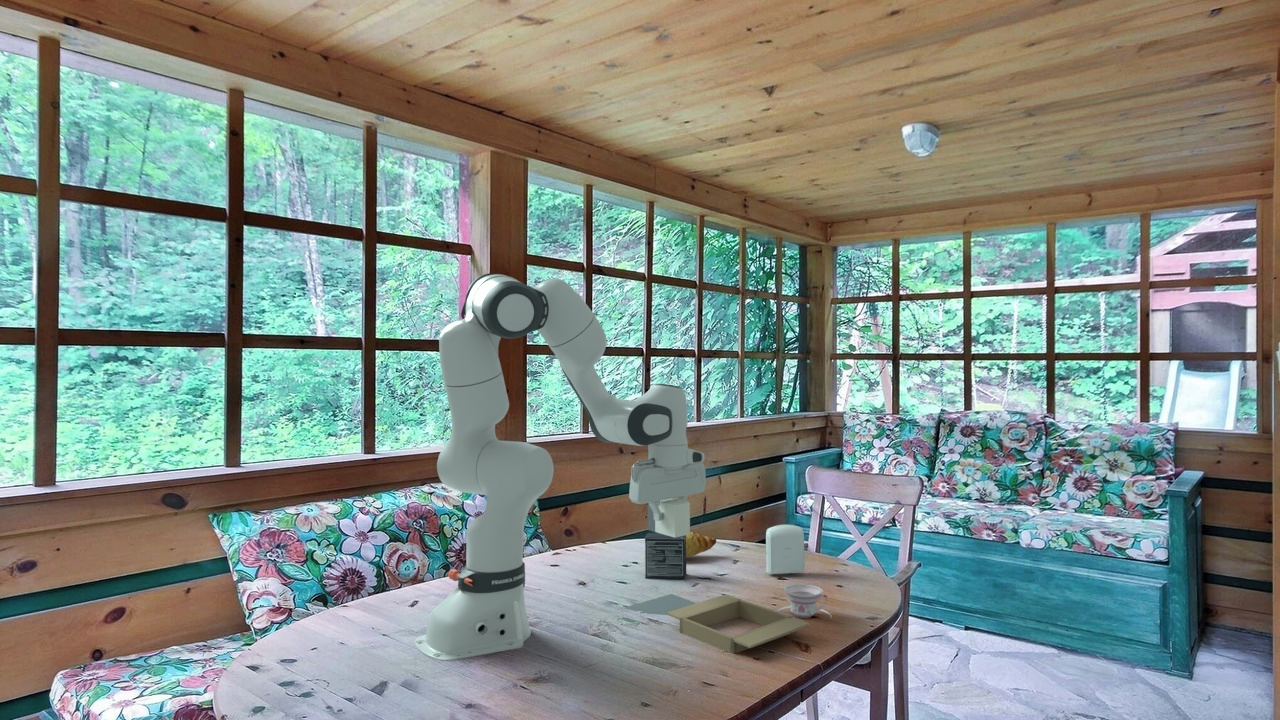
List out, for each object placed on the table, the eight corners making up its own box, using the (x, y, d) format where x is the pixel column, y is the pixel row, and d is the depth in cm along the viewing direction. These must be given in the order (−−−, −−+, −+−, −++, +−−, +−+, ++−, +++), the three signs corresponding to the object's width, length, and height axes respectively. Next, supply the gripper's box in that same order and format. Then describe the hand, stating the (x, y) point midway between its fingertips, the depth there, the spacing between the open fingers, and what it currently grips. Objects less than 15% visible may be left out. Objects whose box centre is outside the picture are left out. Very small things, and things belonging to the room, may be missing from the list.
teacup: (771, 623, 154) (771, 594, 153) (780, 605, 165) (780, 578, 165) (829, 630, 149) (829, 601, 149) (834, 611, 161) (834, 583, 161)
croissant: (650, 572, 200) (655, 552, 196) (639, 545, 208) (643, 525, 204) (719, 561, 208) (725, 541, 203) (706, 536, 215) (711, 516, 211)
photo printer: (769, 575, 187) (769, 527, 187) (763, 570, 191) (763, 523, 191) (806, 573, 189) (806, 526, 189) (800, 568, 193) (800, 522, 193)
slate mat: (664, 626, 152) (664, 623, 152) (625, 609, 162) (625, 607, 162) (711, 611, 161) (711, 608, 161) (671, 596, 171) (671, 593, 171)
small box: (687, 572, 190) (686, 532, 190) (686, 580, 183) (686, 538, 183) (646, 571, 191) (646, 531, 191) (644, 578, 184) (644, 537, 184)
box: (674, 537, 156) (674, 505, 156) (647, 529, 163) (647, 499, 163) (689, 534, 159) (689, 502, 159) (662, 526, 166) (662, 496, 166)
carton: (750, 668, 131) (750, 646, 131) (666, 632, 148) (666, 612, 148) (809, 643, 142) (809, 623, 142) (725, 612, 160) (725, 594, 160)
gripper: (641, 463, 152) (642, 528, 152) (709, 453, 165) (710, 513, 165) (622, 459, 157) (623, 523, 157) (690, 450, 170) (691, 509, 170)
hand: (668, 518), depth 161 cm, fingers closed on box, 4 cm apart
